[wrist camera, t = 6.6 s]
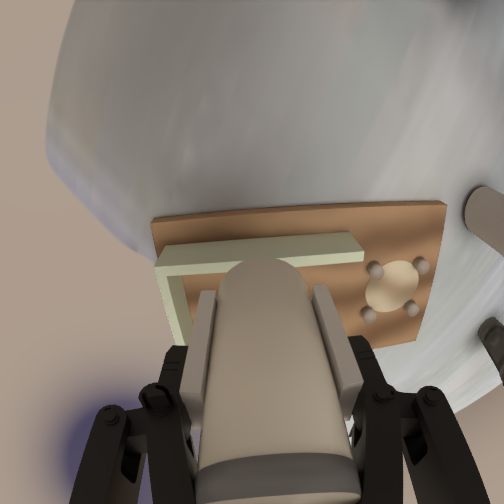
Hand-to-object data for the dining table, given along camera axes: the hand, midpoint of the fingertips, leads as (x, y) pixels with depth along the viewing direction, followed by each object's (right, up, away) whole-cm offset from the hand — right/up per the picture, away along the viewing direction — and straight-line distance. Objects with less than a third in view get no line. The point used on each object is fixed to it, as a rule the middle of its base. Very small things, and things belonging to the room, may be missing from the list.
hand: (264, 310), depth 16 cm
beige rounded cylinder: (0, +1, +1) cm, 1 cm away
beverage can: (+28, +9, +14) cm, 33 cm away
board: (+6, -1, +18) cm, 19 cm away
